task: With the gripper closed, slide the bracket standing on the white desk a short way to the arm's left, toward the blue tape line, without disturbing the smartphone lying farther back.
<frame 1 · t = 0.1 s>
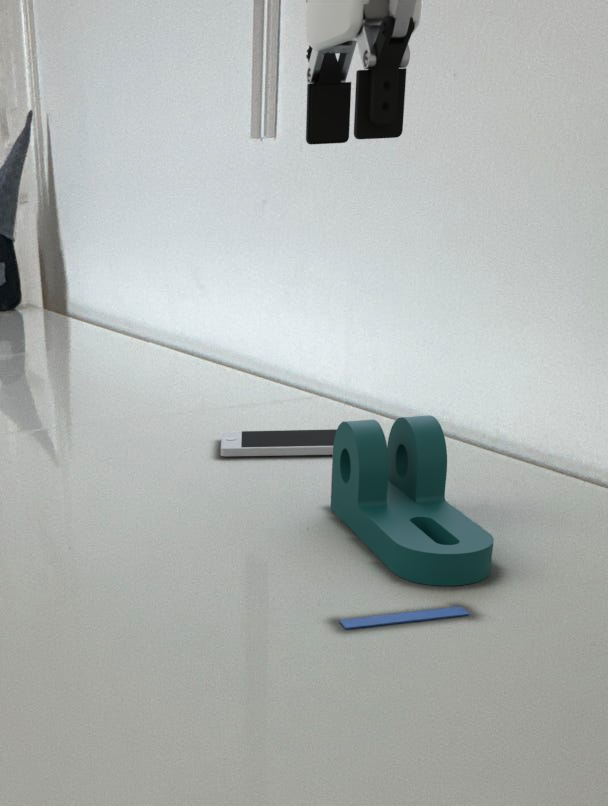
hand: (350, 141, 71), 27 cm above the sideboard, tool pointing down, fingers open, 9 cm apart
bracket: (409, 543, 75), on the sideboard
tape line: (403, 618, 62), on the sideboard
smartphone: (298, 448, 101), on the sideboard
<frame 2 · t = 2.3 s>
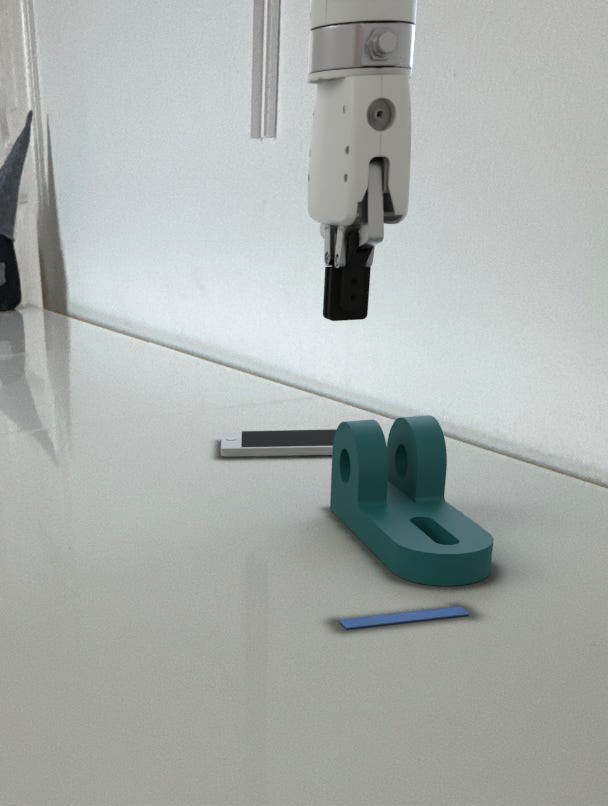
hand: (344, 318, 81), 14 cm above the sideboard, tool pointing down, fingers closed
nothing on the sideboard moved.
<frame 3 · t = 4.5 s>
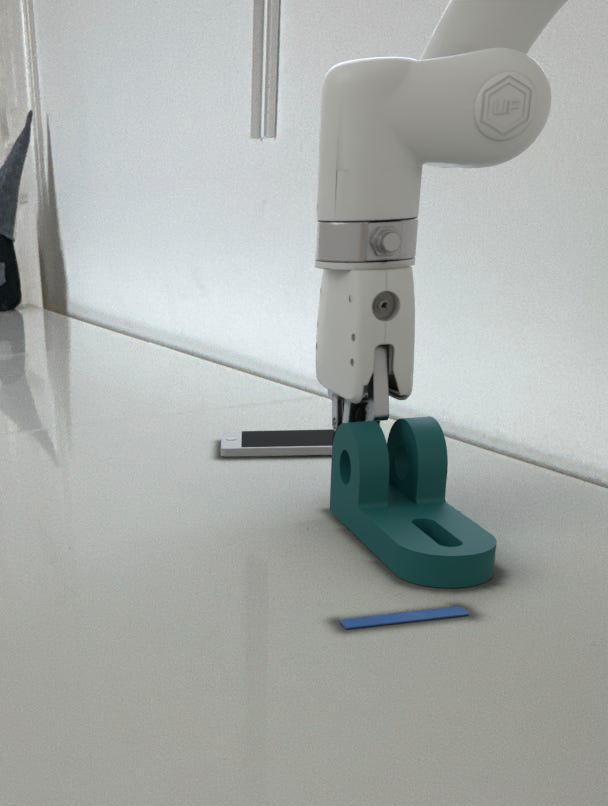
hand: (352, 479, 84), 2 cm above the sideboard, tool pointing down, fingers closed
bracket: (410, 545, 74), on the sideboard, touching gripper
everything else where it was.
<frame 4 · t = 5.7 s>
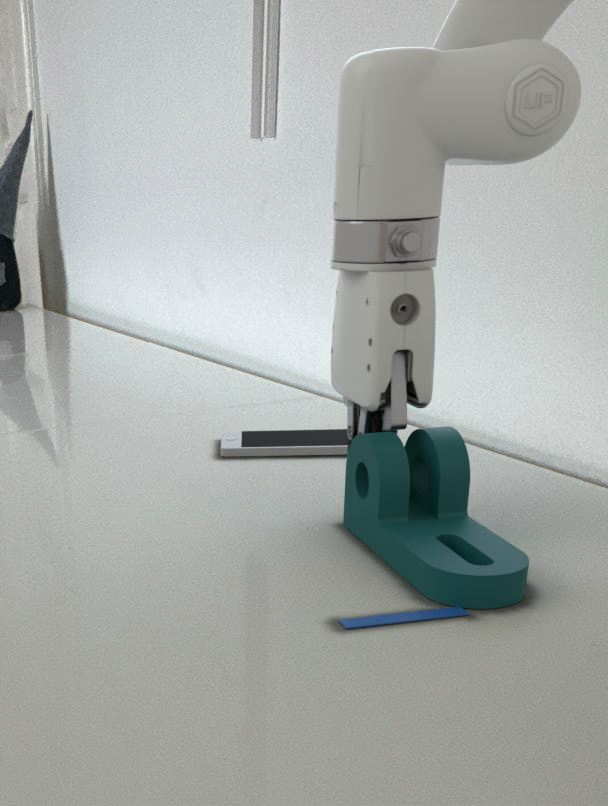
hand: (367, 490, 80), 2 cm above the sideboard, tool pointing down, fingers closed
bracket: (433, 562, 71), on the sideboard, touching gripper, tape line
everything else where it was.
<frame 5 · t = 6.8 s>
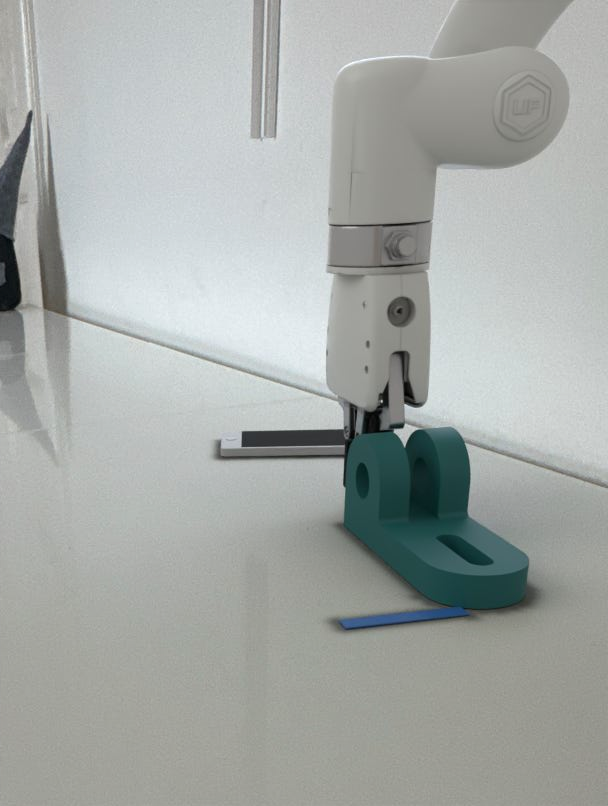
hand: (364, 488, 82), 2 cm above the sideboard, tool pointing down, fingers closed
bracket: (433, 562, 71), on the sideboard, touching tape line
everything else where it was.
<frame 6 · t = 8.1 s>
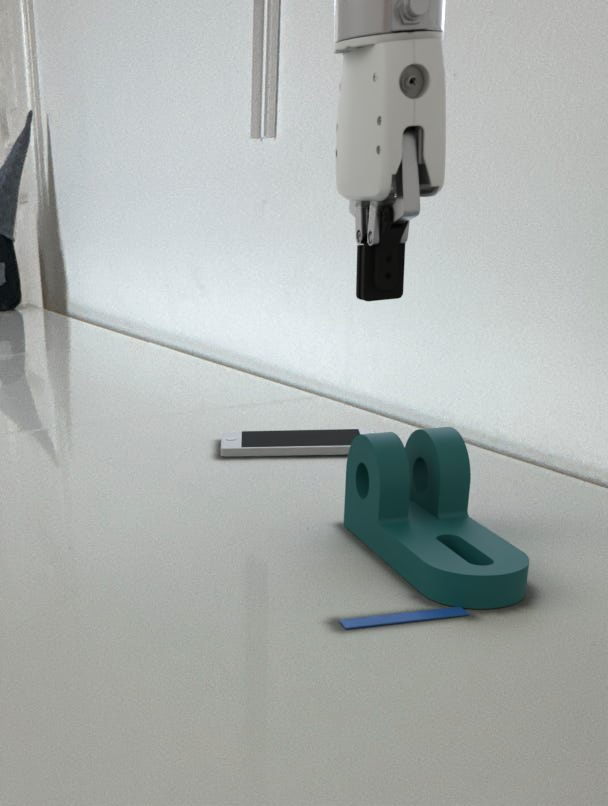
hand: (379, 298, 78), 16 cm above the sideboard, tool pointing down, fingers closed
nothing on the sideboard moved.
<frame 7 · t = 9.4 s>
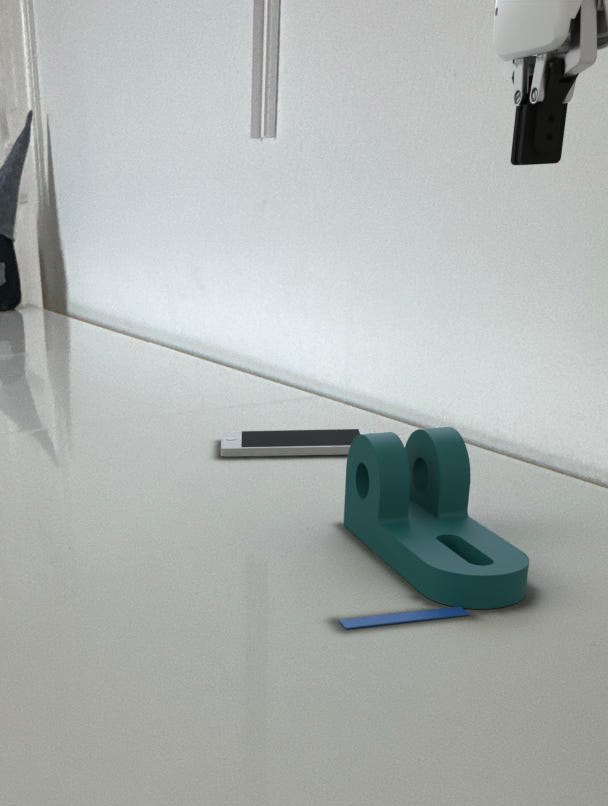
hand: (535, 163, 75), 25 cm above the sideboard, tool pointing down, fingers closed
nothing on the sideboard moved.
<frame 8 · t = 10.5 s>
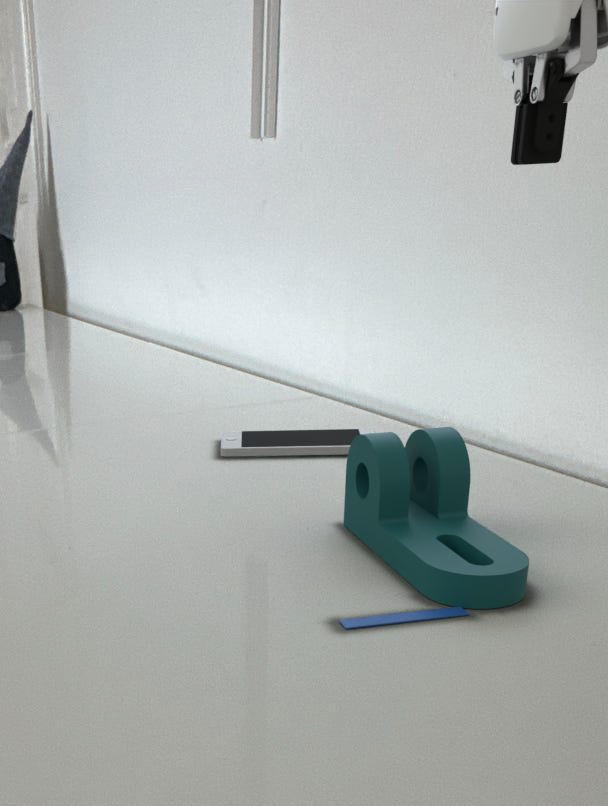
hand: (535, 163, 75), 25 cm above the sideboard, tool pointing down, fingers closed
nothing on the sideboard moved.
at the end: bracket inside the target area (0.7 cm from its centre), on the sideboard; bracket moved 4.1 cm from its start; smartphone moved 0.0 cm from its start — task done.
